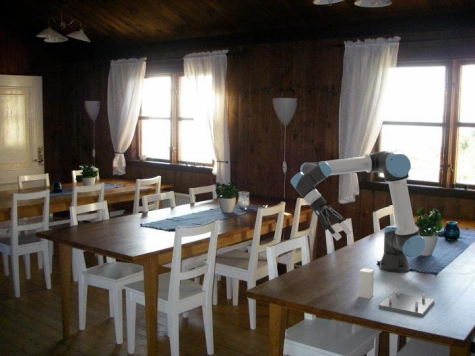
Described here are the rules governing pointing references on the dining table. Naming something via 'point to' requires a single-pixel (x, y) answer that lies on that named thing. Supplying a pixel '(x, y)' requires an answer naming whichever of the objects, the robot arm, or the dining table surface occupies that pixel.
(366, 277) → the block
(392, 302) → the plate
